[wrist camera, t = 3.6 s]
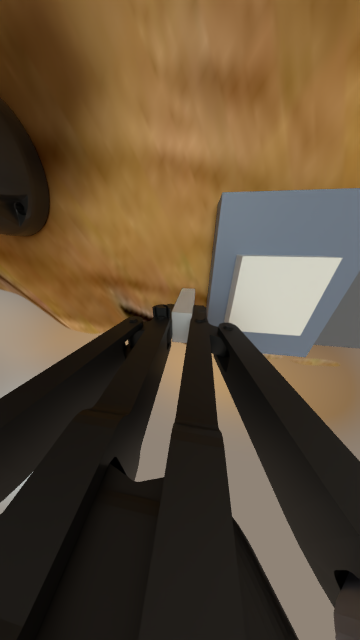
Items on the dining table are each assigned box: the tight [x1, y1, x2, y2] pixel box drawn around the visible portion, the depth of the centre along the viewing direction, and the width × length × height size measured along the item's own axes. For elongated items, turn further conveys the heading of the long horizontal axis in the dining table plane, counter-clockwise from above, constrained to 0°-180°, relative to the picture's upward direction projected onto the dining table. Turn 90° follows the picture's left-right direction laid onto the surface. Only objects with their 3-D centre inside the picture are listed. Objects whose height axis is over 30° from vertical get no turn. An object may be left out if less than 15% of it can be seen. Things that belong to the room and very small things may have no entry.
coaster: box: [224, 254, 342, 336], centre depth 16 cm, size 9×9×2 cm
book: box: [206, 188, 360, 357], centre depth 19 cm, size 16×20×4 cm
